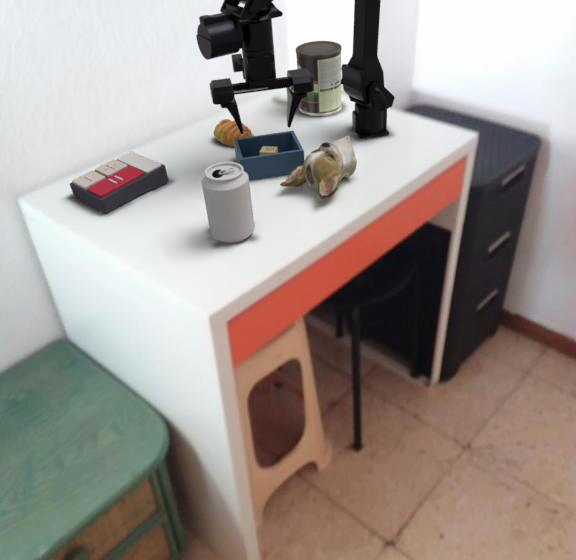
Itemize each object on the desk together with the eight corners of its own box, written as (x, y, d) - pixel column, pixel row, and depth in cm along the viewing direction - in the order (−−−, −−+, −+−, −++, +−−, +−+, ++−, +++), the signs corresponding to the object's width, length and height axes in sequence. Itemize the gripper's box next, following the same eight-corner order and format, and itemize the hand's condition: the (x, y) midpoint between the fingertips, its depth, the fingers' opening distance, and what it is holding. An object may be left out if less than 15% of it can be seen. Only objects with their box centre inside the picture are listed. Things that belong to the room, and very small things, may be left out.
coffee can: (297, 117, 140) (293, 55, 132) (301, 100, 148) (297, 41, 140) (341, 116, 139) (340, 53, 130) (343, 99, 147) (342, 39, 139)
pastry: (262, 141, 131) (260, 124, 129) (238, 152, 127) (236, 135, 125) (234, 130, 137) (231, 114, 134) (210, 140, 133) (208, 124, 131)
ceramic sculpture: (371, 133, 109) (320, 170, 101) (372, 175, 114) (324, 213, 106) (325, 121, 115) (273, 155, 107) (328, 162, 120) (279, 197, 112)
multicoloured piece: (67, 180, 114) (130, 147, 122) (74, 199, 117) (136, 166, 125) (99, 196, 108) (164, 161, 116) (106, 217, 111) (169, 181, 119)
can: (211, 224, 105) (200, 161, 98) (254, 219, 105) (246, 156, 98) (210, 248, 99) (198, 182, 92) (256, 243, 99) (248, 177, 92)
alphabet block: (263, 159, 122) (262, 145, 121) (278, 159, 122) (277, 145, 120) (260, 166, 120) (258, 151, 118) (275, 166, 119) (274, 152, 118)
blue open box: (294, 151, 126) (293, 130, 123) (305, 172, 118) (303, 150, 115) (236, 159, 124) (233, 139, 122) (242, 181, 117) (239, 159, 114)
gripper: (299, 29, 115) (303, 108, 124) (201, 41, 113) (213, 121, 122) (312, 45, 106) (316, 129, 115) (206, 58, 104) (219, 143, 113)
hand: (265, 129), depth 117 cm, fingers open, 9 cm apart
